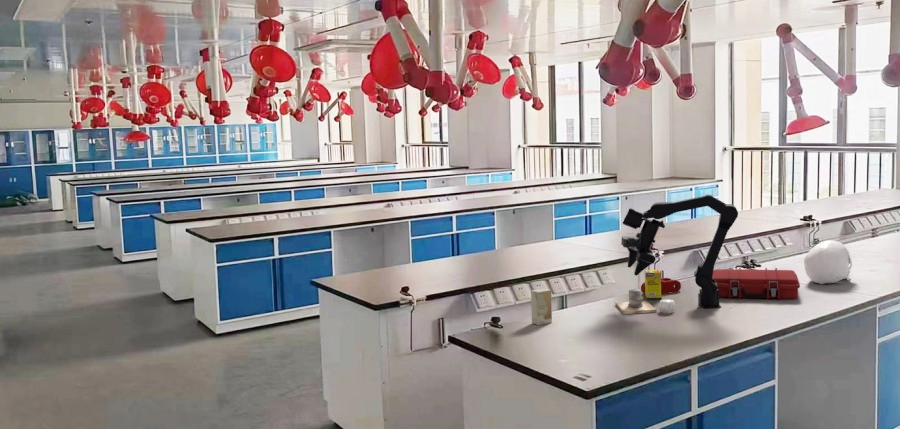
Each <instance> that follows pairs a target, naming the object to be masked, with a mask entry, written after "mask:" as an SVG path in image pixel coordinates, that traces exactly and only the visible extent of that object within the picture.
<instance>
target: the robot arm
mask: <svg viewBox="0 0 900 429" xmlns="http://www.w3.org/2000/svg"><path fill="white" fill-rule="evenodd" d="M704 207H709V208H710V209H712V210H714V211H715V212H716V213H717V214H719V217H718V224H717V227H716V231H715V233H714V236H713V239H712V240H711V242H710V245H709V249H708V251H707V253H706V256H705V258H704V261H703V262H702V263H701V264H700V263H697V264H696V265H697V266H696V270H695V271H694V273H693V276H694V277H695V278H694V281H695V282H694V283H696V285H697V286H698V287H700V289H699V293H698V294H697V297H698V301H697V302H698V303H697V304H698V305H699V306H700V307H701V308H703V309H710V308H711V309H713V308H714V309H715V308H722V305H721V304H720V297H719V290H718V289H717V288H718V287H717V282H716V281H715V280H714V279H713V278H712V276H713V270H715V264H716V262H717V259H718V257H719V254H720V251H721V249H722V246H723V244H724V242H725V239H726V237H727V235H728V234H727V233H728V232H729V230H730V229H731V227H732V226H733V225H734V223H735V221H736V220H737V218H738V216H739V212H738V209H737V207H736V206H735V205H734V204H732V203H731V204H730V203H725V202H723V201H721V200H719V199H718V198H716V197H715V196H714V195H712V194H705V195H701V196H697V197H692V198H688V199H684V200H678V201H675V202H674V201H668V202H667V201H664V202H663V201H659V202H655V203H653V204H652V205H651V206H650V207H649V209H647V210H646V211H644V212H643V213H642V212H640V211H638V210H635V209H634V208H632V207H629V208H628V211H627V212H626V213H627V214H626V215H625V216H624V219H623V222H622V225H624V226H626V227H629V228H631V229H634V230H637V229H641V230H640V231H639V232H637V233H636V234H635V235H623V236H621V243H620V244H621V246H623V248H626V249H627V251H628V259H627V260H628V261H627V267H628V268H631V267H632V266H633V265H634V264H635V263H636V266H635V269H634V272H633V275H634V276H639V275H640V274H641V273H642V272H643V271H645V270H646V268H648V267H649V266H650V265H652V264H653V265H654V264H655V262H656V260H657V258H656V256H655V255H654V254H653V253H651V252H652V250H651V247H652V245H653V244H655V243H656V240H655V239H656V237H657V234H658V231H659V228H662V229H665V228H666V226H665V223H664V220H660V219H664V218H667V217H669V216H670V215H673V214H676V213H678V212H679V213H681V212H684V211H689V210H694V209H698V208H704ZM651 219H652V220H651ZM642 224H643V225H642Z"/></svg>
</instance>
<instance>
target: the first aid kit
mask: <svg viewBox="0 0 900 429" xmlns="http://www.w3.org/2000/svg"><path fill="white" fill-rule="evenodd" d="M712 278H713V279H714V280H715V281H716V282H717V287H718V288H717V289H718V290H719V298H728V299H729V300H731V298H738V299H739V300H742V299H743V298H746V299H747V298H748V299H749V298H751V299H755V298H756V299H767V301H769V300H770V299H777V300H778V301H780V300H781V299H791V300H793V299H797V298H798V297H799V289H800V287H801V285H800V280H799V277H798V275H797V274H796V271H794V270H792V269H778V268H777V267H775V269H768V268H767V267H764V269H741V267H739V268H738V269H732V267H729V268H728V269H727V268H726V269H721V268H720V269H714V270H713V276H712Z"/></svg>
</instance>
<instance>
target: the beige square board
mask: <svg viewBox="0 0 900 429" xmlns="http://www.w3.org/2000/svg"><path fill="white" fill-rule="evenodd" d="M615 306H616V307H617V308H618V310H620V312H621V313H623V314H624V315H631V314H632V315H633V314H635V315H636V314H647V313H648V314H649V313H650V314H651V313H657V311H658V310H657V308H655V307H654V306H653V305H652V304H650V302H648V301H647V300H643V298H642V291H641V289H640V288H639V289H636V288H633V289H629V290H628V301H625V302H624V301H623V302H615Z"/></svg>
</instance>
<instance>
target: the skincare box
mask: <svg viewBox="0 0 900 429" xmlns="http://www.w3.org/2000/svg"><path fill="white" fill-rule="evenodd" d="M530 298H531V299H530V300H531V302H530V303H531V304H530V305H531V306H530V308H531V323H532V324H534V325H537V326H540V325H541V326H542V325H547V324H551V323H552V322H553V318H552V317H553V316H552V315H553V312H552V289H549V288H536V289H533V290H530Z"/></svg>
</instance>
